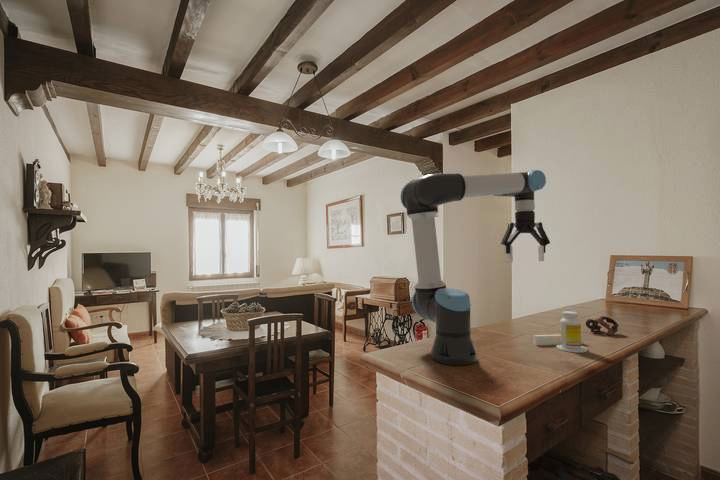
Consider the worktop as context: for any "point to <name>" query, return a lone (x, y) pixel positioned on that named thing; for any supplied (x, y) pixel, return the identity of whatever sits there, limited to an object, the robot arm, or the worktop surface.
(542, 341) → the rail
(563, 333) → the supplement bottle
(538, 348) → the worktop surface
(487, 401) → the worktop surface
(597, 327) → the brown openwork ring sculpture
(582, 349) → the coaster
